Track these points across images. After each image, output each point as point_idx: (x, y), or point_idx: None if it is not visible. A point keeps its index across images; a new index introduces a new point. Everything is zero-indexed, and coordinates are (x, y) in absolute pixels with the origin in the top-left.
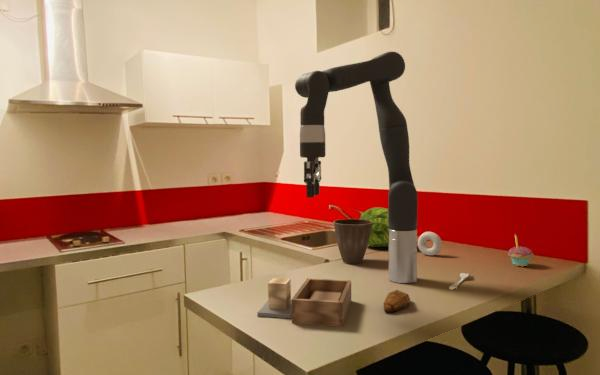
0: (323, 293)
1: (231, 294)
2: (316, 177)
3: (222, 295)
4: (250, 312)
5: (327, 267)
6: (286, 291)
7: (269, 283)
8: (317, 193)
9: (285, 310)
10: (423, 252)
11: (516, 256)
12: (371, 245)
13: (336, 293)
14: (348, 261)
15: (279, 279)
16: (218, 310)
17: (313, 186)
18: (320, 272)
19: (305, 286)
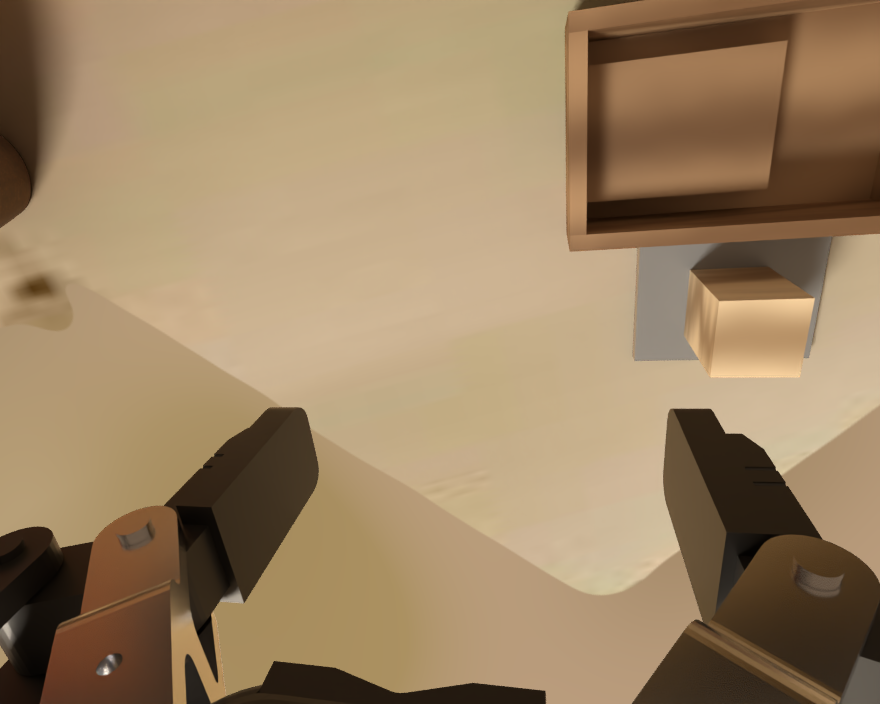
0: (633, 149)
1: (571, 493)
2: (710, 628)
3: (587, 514)
4: (760, 386)
5: (129, 260)
6: (789, 287)
7: (800, 370)
8: (299, 429)
9: (779, 266)
10: None
11: None
12: None
13: (625, 86)
14: (24, 184)
15: (732, 346)
16: None
17: (768, 515)
18: (209, 271)
19: (693, 226)
